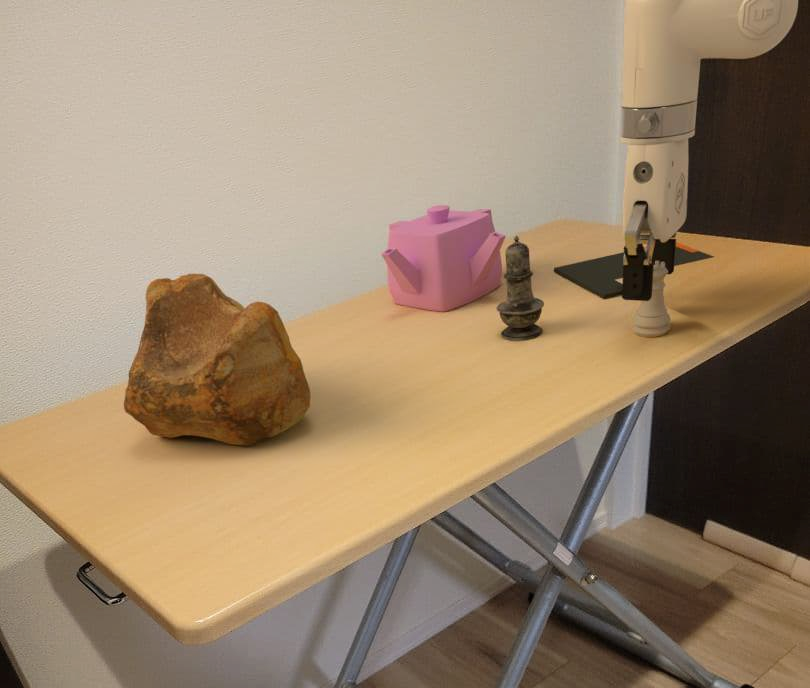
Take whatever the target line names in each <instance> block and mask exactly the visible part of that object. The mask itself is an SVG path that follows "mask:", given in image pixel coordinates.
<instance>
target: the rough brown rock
mask: <svg viewBox="0 0 810 688" xmlns="http://www.w3.org/2000/svg"><path fill="white" fill-rule="evenodd" d="M311 400H312V399H311V390H310V385H309V382H308V380H307V377H306V373H305V371H304V366H303V363H302V360H301V358H300V357H299V355H298V353H297V352H296V351H295V349H294V348H293V346H292V343H291V340H290V336H289V334H288V332H287V330H286V326H285V325H284V323H283V320H282V318H281V315H280V314H279V311H278V310H277V309H275V308H274V307H273V306H272V305H271V304H268V303H267V302H263V301H253V302H251V303H249V304H248V305H247V306H245V307H244V306H243V305H242V304H241V302H238V301H237V300H235V299H233V298H231V297H230V296H229V295H228V296H227V294H225V293H224V292H223V290H222V289H221V288H220V287H219V285H218V284H217V283H216V282H215V280H214V279H213V278H212V277H210V276H208V275H206V274H204V273H188V274H184V275H180V276H179V277H178V278H176V279H173V280H172V279H171V278H169V277H165V278H156V279H154V280H152V281H150V283H149V284H148V286H147V288H146V291H145V318H144V326H143V329H142V332H141V336H140V340H139V343H138V349H137V352H136V354H135V356H134V358H133V360H132V363H131V366H130V368H129V371H128V382H127V386H126V389H125V393H124V399H123V409H124V412H125V413H126V414H128V415H129V416H131V417H132V418H133V419H134V420H135V421H136V422H138V423H140V424H141V425H143V426H144V427H145V428H146V430H147V431H148V432H149V433H150V434H152V436H156V437H157V436H158V437H163V438H176V437H180V436H181V437H182V436H195V437H201V438H206V439H212V440H215V441H218V442H221V443H225V444H231V445H236V446H251V447H252V446H254V445H256V443H257V442H258V441H259V440H260V439H262V438H273V437H275V436H277V435H279V434H281V433H283V432H285V431H286V430H288V429H290V428H291V427H292V426H294V425H297V423H299V422H300V421H301V420H302V419H303V418H304V416H305V414H306V413H307V412H308V410H309V408H310V407H311Z"/></svg>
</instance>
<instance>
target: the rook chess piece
mask: <svg viewBox="0 0 810 688" xmlns="http://www.w3.org/2000/svg"><path fill="white" fill-rule="evenodd" d="M651 263H652V262H651ZM667 273H668V270H667V269H666V268H665V262H661V265H660V261H655V265H654V269H653V286H652V298H651V299H650V300H649V301H640V304H639V308H638V310H637V311H636V314H635V316H634V317H633V319H632V323H633V324H634V325H633V326H632V327H631V329H632V331H633V332H634V334H635V335H637V336H639V337H641V338H642V337H643V338H655V337H656V338H657V337H662V336H663V335H666V334H667V333H668V332H669V331H670V329H671V328H672V327H671V326H672V325H671V324H670V321H671V317H670V314H669V312H668V308H666V305H665V297H664V292H665V291H664V290H665V289H664V288H665V287H666V283H665V281H664V280H665V278H666V276H667V275H668V274H667Z"/></svg>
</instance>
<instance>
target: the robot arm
mask: <svg viewBox="0 0 810 688" xmlns="http://www.w3.org/2000/svg"><path fill="white" fill-rule="evenodd" d="M798 8H799V0H625V3H624V13H623V14H624V15H623V16H624V17H623V44H622V46H623V48H622V49H623V50H622V77H621V78H622V79H621V80H622V82H621V107H620V109H621V110H620V138H619V140H620V143H622V144H627V152H626V159H625V161H626V163H625V170H624V183H623V196H622V215H621V217H622V220H621V221H622V222H621V223H622V224H621V225H622V229H621V230H622V237H623V239H624V244H625V245H624V246H623V252H625V253H624V258H623V278H622V284H623V286H622V295H621V298H622V300H624V301H639V302H641V301H649V300H650V299H651V298H652V286H653V269H654V265H655V261H660V265H661V262H665V268H666V269H667V270H668V273H667V275H672V274H673V273H674V271H675V266H674V262H675V249H676V243H677V238H676V236H677V232H678V231H679V230H680V229H681V227H683V225H684V224H685V222H686V219H687V214H688V213H687V210H688V190H689V189H688V185H689V139H690V138H692V137H694V136H695V133H696V121H697V120H696V119H697V109H698V108H697V107H698V106H697V105H698V93H699V82H700V73H701V72H700V71H701V60H702V59H731V60H745V59H752V58H756V57H759V56H761V55H763V54H765V53H767V52H769V51H771V50H773V48H775V47H776V46H778V44H780V43H781V41H783V39H784V38H785V37H786V36H787V34H788V33H789V32H790V30H791V29H792V27H793V25H794V22H795V20H796V17H797V14H798ZM644 245H646V246H644ZM645 247H646V251H644V248H645ZM651 262H652V263H651Z"/></svg>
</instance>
